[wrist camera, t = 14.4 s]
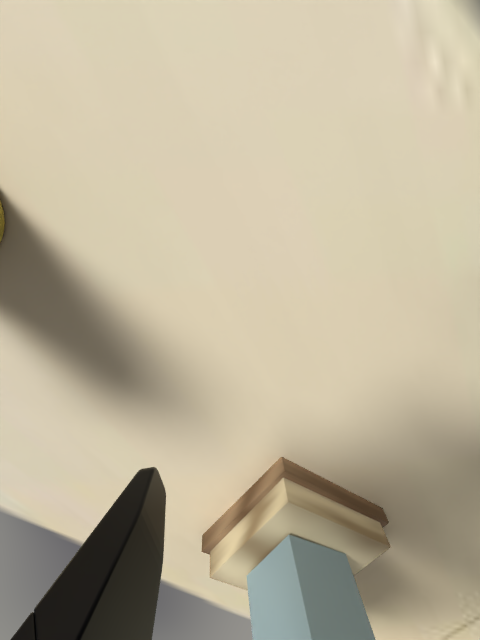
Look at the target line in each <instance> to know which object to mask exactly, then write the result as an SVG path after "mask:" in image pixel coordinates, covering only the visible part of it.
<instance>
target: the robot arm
mask: <svg viewBox="0 0 480 640" xmlns="http://www.w3.org/2000/svg"><path fill="white" fill-rule="evenodd" d="M165 506H166V492H165V488H164V485H163V482H162V480H161V477H160V475H159V472H158V470H157V469H156V468H155V467H151V468H145V469H141V470H139V471H138V472H137V474H136V475H135V476H134V478H133V479H132V480H131V482H130V483H129V484H128V486H127V487H126V488H125V489H124V491H123V492H122V493H121V495H120V496H119V497H118V499H117V500H116V501H115V503H114V504H113V505H112V507H111V508H110V509H109V511H108V512H107V513H106V515H105V516H104V517H103V519H102V520H101V521H100V523H99V524H98V525H97V527H96V528H95V529H94V530H93V532H92V533H91V534H90V536H89V537H88V538H87V540H86V541H85V542H84V544H83V545H82V546H81V548H80V549H79V550H78V552H77V553H76V554H75V556H74V557H73V558H72V560H71V561H70V562H69V564H68V565H67V566H66V568H65V569H64V570H63V571H62V573H61V574H60V575H59V577H58V578H57V579H56V581H55V582H54V583H53V585H52V586H51V587H50V589H49V590H48V591H47V593H46V594H45V595H44V597H43V598H42V599H41V601H40V602H39V603H38V605H37V606H36V607H35V609H34V612H32V613H31V614H30V615H29V616H28V618H27V619H26V620H25V622H24V623H23V624H22V626H21V627H20V628H19V629H18V631H17V632H16V633H15V635H14V636H13V637H12V639H11V640H152V633H153V627H154V620H155V613H156V606H157V600H158V593H159V586H160V579H161V572H162V564H163V551H164V529H165Z"/></svg>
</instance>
